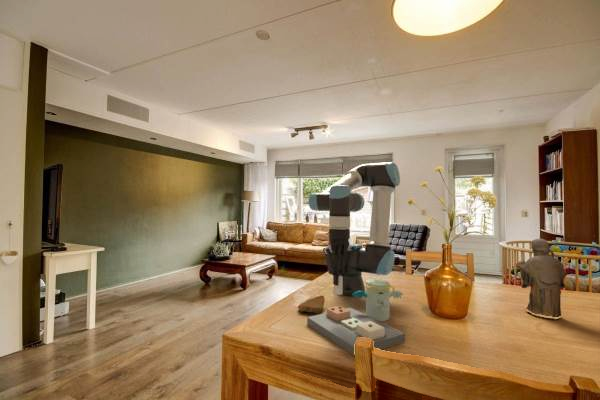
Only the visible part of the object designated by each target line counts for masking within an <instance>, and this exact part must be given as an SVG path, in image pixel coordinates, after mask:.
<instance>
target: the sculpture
mask: <svg viewBox="0 0 600 400" xmlns="http://www.w3.org/2000/svg"><path fill="white" fill-rule="evenodd" d="M530 247H531V249H532V254H533V256H531V257H529V258H528V259H527V260H526V261H524V260H520V261H517V267H518V268H519V270H518V271H519V272H520V277H521V278H520V279H521V280H522V283H521V285H520V287H521V288H522V289H526V288H528V286H530V291H529V295H528V296H529V298H528V299H529V302H528V304H527V307H526V308H525V310H526V309H528V310H529V311H531V312H532V313H535V314H541V315H545V316H552V317H559V316H561V317H562V309H561V308H562V307H561V294H562V290H561V288H562V289H566V284H565V277H566V276H567V275H568V274H567V271H566V269H565V267H564V265H563V263H562V261H561V260H560V259H558V258H557V257H555V253H554V251H553V250H552V249H551V248H550V244H549V243H548V241H547V240H546V239H544V238H534V240H532V241H531V243H530ZM550 254H551V255H550ZM567 277H568V276H567Z"/></svg>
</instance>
